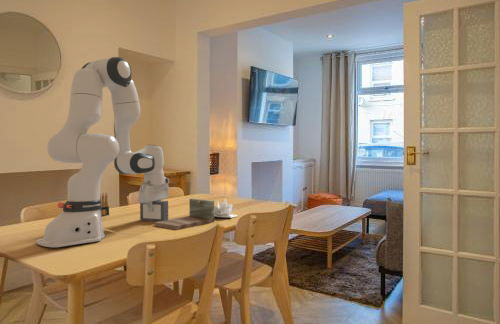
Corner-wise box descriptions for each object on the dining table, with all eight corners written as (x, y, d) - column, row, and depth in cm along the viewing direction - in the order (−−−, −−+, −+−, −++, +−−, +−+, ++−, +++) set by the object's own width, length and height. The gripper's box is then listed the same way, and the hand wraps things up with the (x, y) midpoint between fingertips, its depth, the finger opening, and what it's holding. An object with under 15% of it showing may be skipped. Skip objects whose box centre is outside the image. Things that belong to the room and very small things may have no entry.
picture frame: (163, 222, 163) (163, 202, 163) (140, 220, 166) (140, 201, 166) (168, 220, 167) (168, 201, 167) (145, 219, 170) (145, 200, 170)
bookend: (177, 229, 146) (177, 206, 146) (154, 225, 154) (154, 203, 154) (214, 221, 164) (214, 200, 163) (191, 218, 172) (191, 198, 172)
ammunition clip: (90, 220, 168) (89, 194, 168) (87, 219, 169) (87, 193, 169) (109, 216, 178) (109, 192, 178) (106, 216, 179) (106, 192, 178)
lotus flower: (236, 220, 169) (236, 201, 169) (204, 220, 169) (204, 201, 169) (238, 215, 183) (238, 197, 183) (208, 215, 184) (208, 197, 183)
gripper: (147, 182, 155) (147, 214, 156) (171, 179, 175) (171, 208, 175) (134, 181, 157) (134, 214, 157) (159, 179, 177) (159, 207, 177)
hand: (154, 210), depth 166 cm, fingers closed on picture frame, 4 cm apart
